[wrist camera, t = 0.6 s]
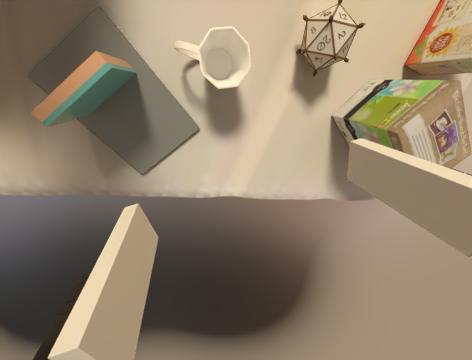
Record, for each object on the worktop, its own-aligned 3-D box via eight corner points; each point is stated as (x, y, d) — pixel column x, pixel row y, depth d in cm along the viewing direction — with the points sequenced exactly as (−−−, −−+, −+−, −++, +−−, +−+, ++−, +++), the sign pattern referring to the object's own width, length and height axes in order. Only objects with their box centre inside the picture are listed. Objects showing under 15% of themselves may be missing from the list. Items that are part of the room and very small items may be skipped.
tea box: (328, 116, 39) (396, 132, 26) (369, 78, 37) (464, 75, 24) (357, 162, 46) (422, 194, 33) (393, 132, 44) (477, 152, 31)
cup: (232, 94, 33) (242, 97, 26) (173, 75, 30) (167, 72, 23) (244, 48, 31) (259, 38, 24) (181, 22, 28) (176, 1, 21)
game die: (302, 60, 37) (316, 96, 32) (280, 22, 31) (294, 60, 26) (353, 22, 32) (378, 59, 27) (339, -32, 26) (368, 4, 21)
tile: (79, 104, 29) (29, 113, 20) (126, 61, 28) (95, 50, 19) (89, 114, 30) (47, 126, 21) (136, 72, 29) (111, 67, 20)
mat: (30, 76, 27) (27, 76, 27) (100, 7, 25) (98, 6, 25) (142, 173, 36) (142, 174, 36) (199, 127, 35) (199, 128, 34)
